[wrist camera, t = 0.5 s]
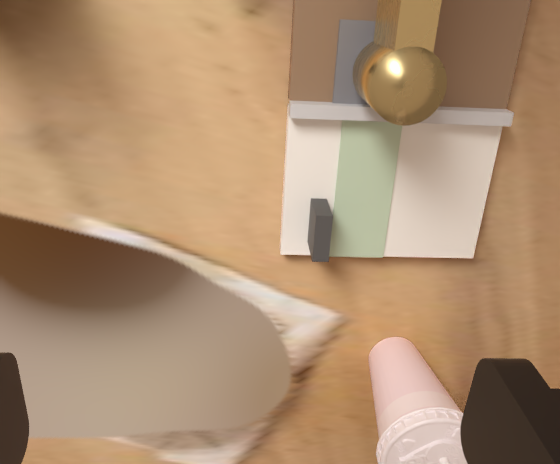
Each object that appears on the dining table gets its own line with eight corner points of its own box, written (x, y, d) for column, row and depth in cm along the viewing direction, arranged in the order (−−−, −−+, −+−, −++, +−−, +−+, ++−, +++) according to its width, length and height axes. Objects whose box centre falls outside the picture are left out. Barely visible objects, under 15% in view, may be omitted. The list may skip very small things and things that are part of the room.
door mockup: (305, -207, 26) (314, -237, 22) (562, -186, 27) (609, -211, 23) (279, 247, 36) (283, 275, 33) (467, 251, 37) (490, 278, 34)
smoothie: (433, 385, 42) (515, 559, 29) (352, 394, 42) (398, 573, 29) (435, 316, 39) (526, 475, 26) (348, 326, 39) (397, 491, 26)
